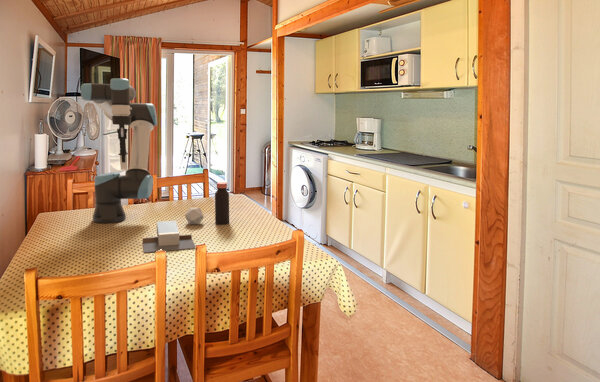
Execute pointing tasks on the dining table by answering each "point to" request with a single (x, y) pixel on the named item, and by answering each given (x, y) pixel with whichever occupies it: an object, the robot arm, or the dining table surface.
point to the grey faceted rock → (194, 216)
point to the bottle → (222, 204)
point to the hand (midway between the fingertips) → (123, 169)
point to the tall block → (167, 233)
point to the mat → (168, 246)
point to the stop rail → (152, 239)
